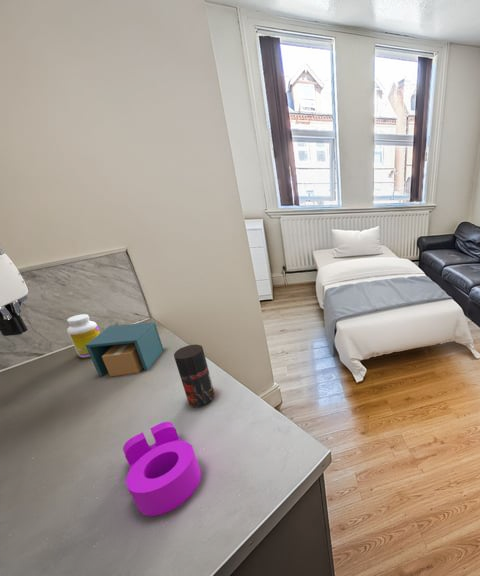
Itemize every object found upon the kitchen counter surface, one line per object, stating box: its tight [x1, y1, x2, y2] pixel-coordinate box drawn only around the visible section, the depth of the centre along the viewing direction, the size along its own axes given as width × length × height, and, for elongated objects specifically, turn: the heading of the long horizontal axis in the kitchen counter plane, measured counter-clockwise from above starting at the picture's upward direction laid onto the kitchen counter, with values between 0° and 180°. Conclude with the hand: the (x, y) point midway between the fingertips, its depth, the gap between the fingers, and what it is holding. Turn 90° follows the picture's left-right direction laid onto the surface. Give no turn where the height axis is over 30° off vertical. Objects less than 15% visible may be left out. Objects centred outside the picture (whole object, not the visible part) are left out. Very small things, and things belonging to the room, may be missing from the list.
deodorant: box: [173, 344, 216, 409], centre depth 72 cm, size 6×6×15 cm
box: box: [102, 343, 144, 377], centre depth 85 cm, size 7×7×7 cm
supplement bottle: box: [66, 313, 101, 359], centre depth 91 cm, size 7×7×13 cm
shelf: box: [86, 321, 164, 377], centre depth 87 cm, size 11×12×11 cm
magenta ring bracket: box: [122, 421, 202, 517], centre depth 55 cm, size 16×10×6 cm, turn 49°
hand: (15, 333), depth 63 cm, fingers closed
